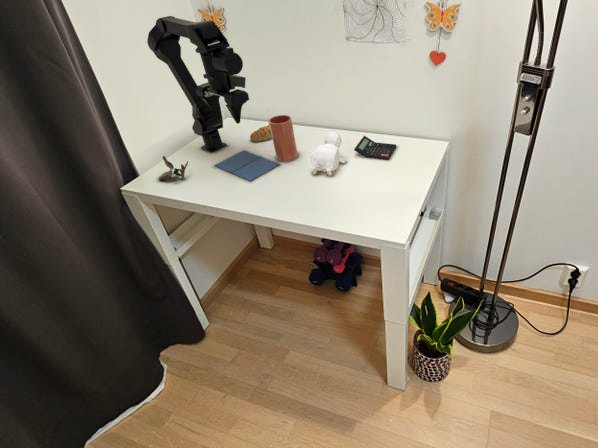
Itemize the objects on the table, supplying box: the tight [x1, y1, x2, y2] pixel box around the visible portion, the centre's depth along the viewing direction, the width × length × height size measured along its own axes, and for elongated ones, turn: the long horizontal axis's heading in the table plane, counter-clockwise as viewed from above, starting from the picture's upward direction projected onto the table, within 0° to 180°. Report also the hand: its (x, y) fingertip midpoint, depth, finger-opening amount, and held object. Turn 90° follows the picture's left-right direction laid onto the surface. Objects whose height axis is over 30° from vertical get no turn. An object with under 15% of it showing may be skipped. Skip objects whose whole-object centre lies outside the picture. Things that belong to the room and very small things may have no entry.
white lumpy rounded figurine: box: [310, 131, 346, 177], centre depth 124 cm, size 8×8×15 cm
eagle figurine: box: [158, 155, 189, 181], centre depth 123 cm, size 8×7×9 cm
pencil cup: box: [268, 114, 299, 163], centre depth 128 cm, size 7×7×13 cm
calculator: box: [353, 135, 397, 161], centre depth 131 cm, size 9×12×3 cm
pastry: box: [249, 124, 272, 143], centre depth 144 cm, size 9×7×4 cm
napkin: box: [214, 150, 280, 182], centre depth 128 cm, size 18×12×1 cm, turn 53°
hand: (229, 120), depth 126 cm, fingers open, 9 cm apart
